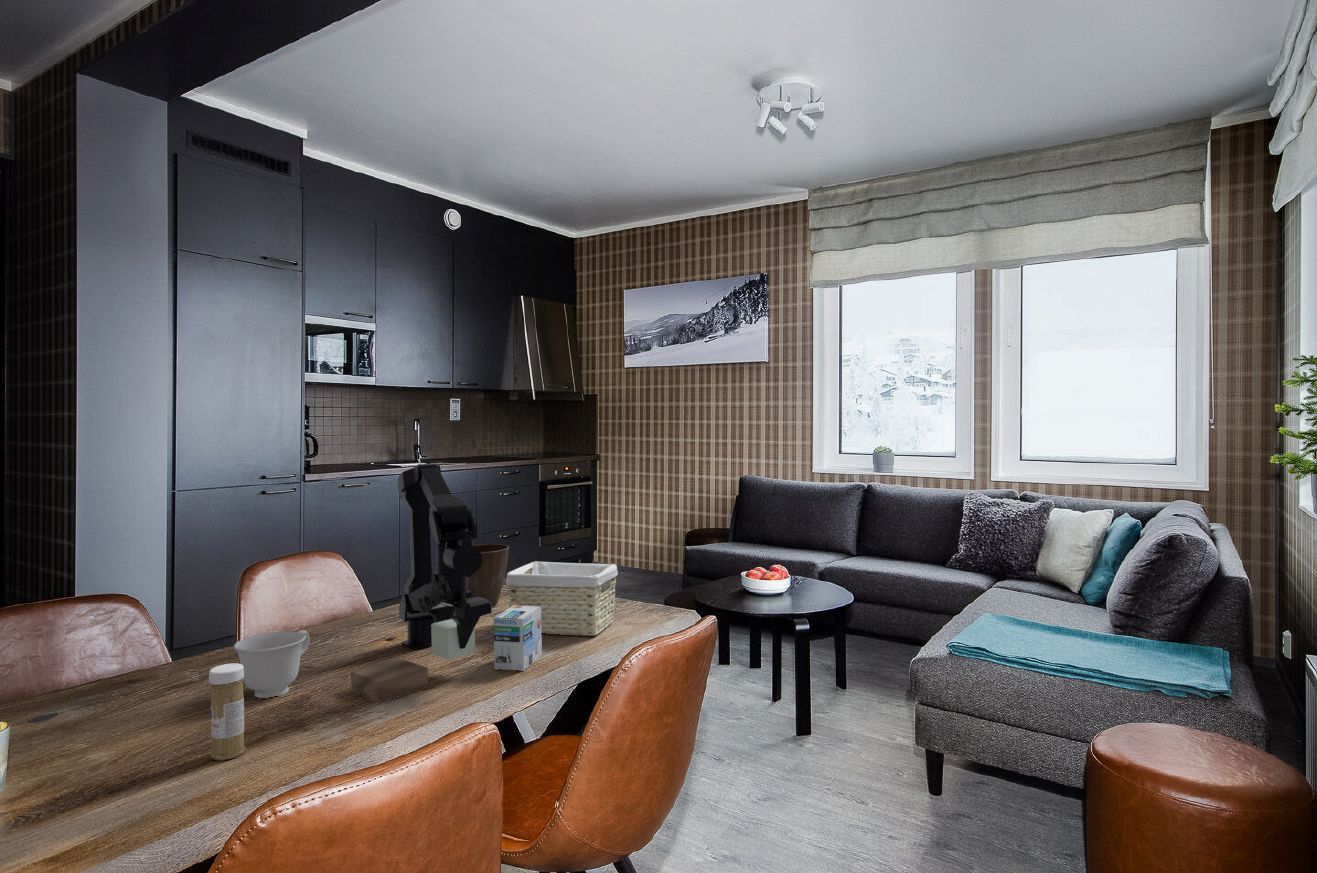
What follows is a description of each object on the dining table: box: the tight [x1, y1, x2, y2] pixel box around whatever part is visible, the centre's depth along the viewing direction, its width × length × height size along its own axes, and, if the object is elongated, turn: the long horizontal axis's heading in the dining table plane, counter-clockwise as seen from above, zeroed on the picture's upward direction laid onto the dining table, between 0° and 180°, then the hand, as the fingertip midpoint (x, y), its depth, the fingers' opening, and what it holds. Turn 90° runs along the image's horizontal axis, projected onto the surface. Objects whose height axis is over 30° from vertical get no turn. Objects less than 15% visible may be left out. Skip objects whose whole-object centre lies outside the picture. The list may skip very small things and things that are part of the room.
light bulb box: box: [492, 605, 543, 672], centre depth 152 cm, size 11×7×11 cm, turn 168°
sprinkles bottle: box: [208, 662, 246, 761], centre depth 111 cm, size 5×5×14 cm
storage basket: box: [505, 560, 619, 637], centre depth 178 cm, size 24×16×15 cm
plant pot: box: [466, 543, 510, 608], centre depth 201 cm, size 15×15×16 cm
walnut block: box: [350, 657, 429, 704], centre depth 138 cm, size 10×10×4 cm
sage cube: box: [431, 619, 476, 661], centre depth 145 cm, size 6×6×6 cm
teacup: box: [232, 629, 311, 699], centre depth 138 cm, size 12×15×10 cm
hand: (453, 645), depth 145 cm, fingers closed on sage cube, 6 cm apart
